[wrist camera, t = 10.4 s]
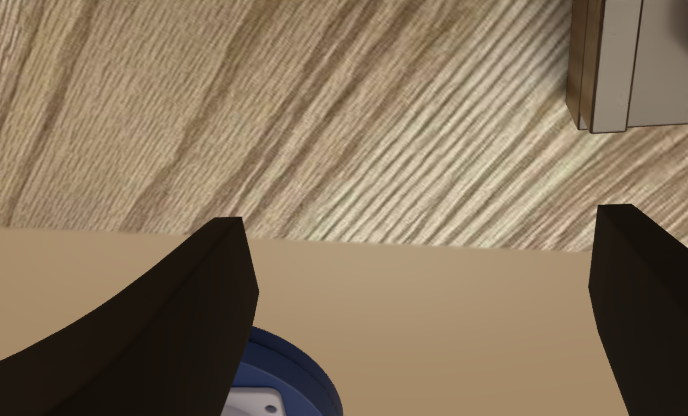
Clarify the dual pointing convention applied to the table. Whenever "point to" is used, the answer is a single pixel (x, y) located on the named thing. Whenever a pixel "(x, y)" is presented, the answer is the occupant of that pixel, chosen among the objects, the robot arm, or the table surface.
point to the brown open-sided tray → (628, 64)
